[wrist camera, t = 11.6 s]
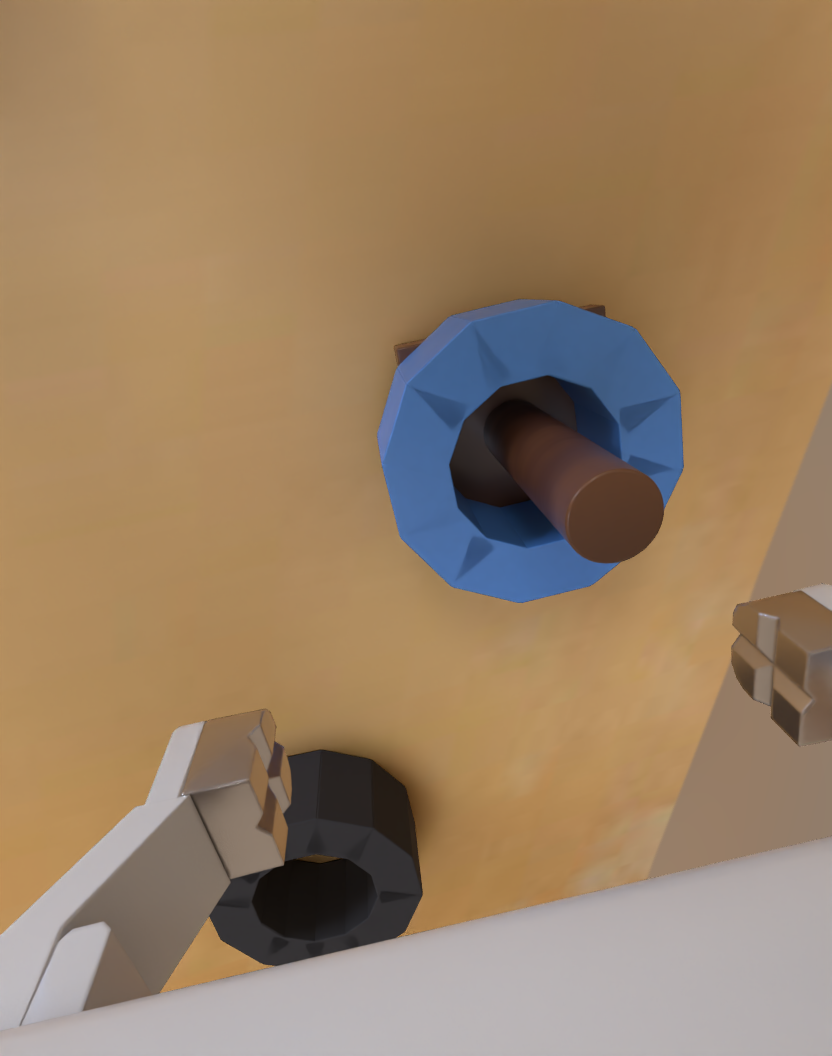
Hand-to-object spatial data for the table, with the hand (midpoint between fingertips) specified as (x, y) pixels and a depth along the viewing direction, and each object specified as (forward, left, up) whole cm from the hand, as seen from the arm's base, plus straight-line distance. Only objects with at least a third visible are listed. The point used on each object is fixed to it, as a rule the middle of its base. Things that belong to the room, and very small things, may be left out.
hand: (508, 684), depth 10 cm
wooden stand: (0, +5, -19) cm, 19 cm away
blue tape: (+1, +4, -17) cm, 18 cm away
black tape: (+22, -10, -19) cm, 31 cm away
